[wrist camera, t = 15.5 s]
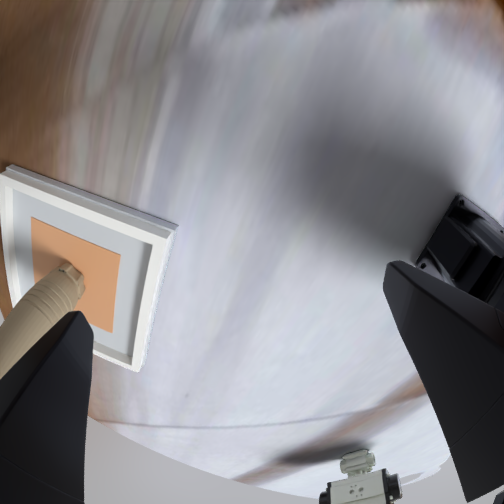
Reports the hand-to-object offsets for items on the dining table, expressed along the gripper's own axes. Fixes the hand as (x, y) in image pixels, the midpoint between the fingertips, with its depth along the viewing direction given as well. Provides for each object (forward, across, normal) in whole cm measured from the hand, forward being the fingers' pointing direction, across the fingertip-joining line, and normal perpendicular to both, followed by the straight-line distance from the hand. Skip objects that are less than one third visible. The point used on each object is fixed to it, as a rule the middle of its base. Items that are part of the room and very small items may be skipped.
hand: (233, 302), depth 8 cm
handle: (+14, +14, +7) cm, 20 cm away
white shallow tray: (+14, +14, +7) cm, 21 cm away
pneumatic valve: (+7, -13, +42) cm, 45 cm away
